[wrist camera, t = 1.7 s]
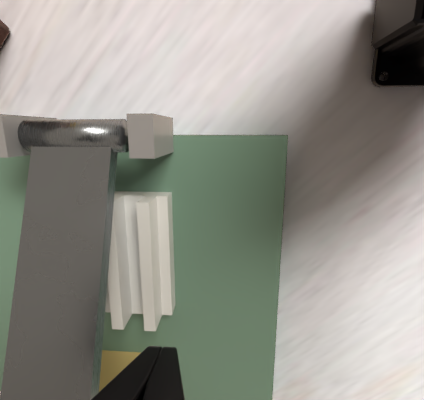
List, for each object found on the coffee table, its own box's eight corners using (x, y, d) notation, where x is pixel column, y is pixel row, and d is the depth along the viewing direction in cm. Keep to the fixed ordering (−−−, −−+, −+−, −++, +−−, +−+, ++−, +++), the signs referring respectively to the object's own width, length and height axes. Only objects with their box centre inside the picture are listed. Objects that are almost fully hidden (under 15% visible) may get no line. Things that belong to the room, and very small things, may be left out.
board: (285, 118, 18) (307, 113, 12) (269, 395, 23) (280, 476, 17) (-47, 119, 19) (-155, 115, 14) (5, 377, 24) (-59, 447, 19)
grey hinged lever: (132, 127, 15) (117, 110, 13) (107, 464, 13) (86, 503, 11) (41, 127, 15) (15, 111, 14) (1, 455, 13) (-37, 491, 11)
